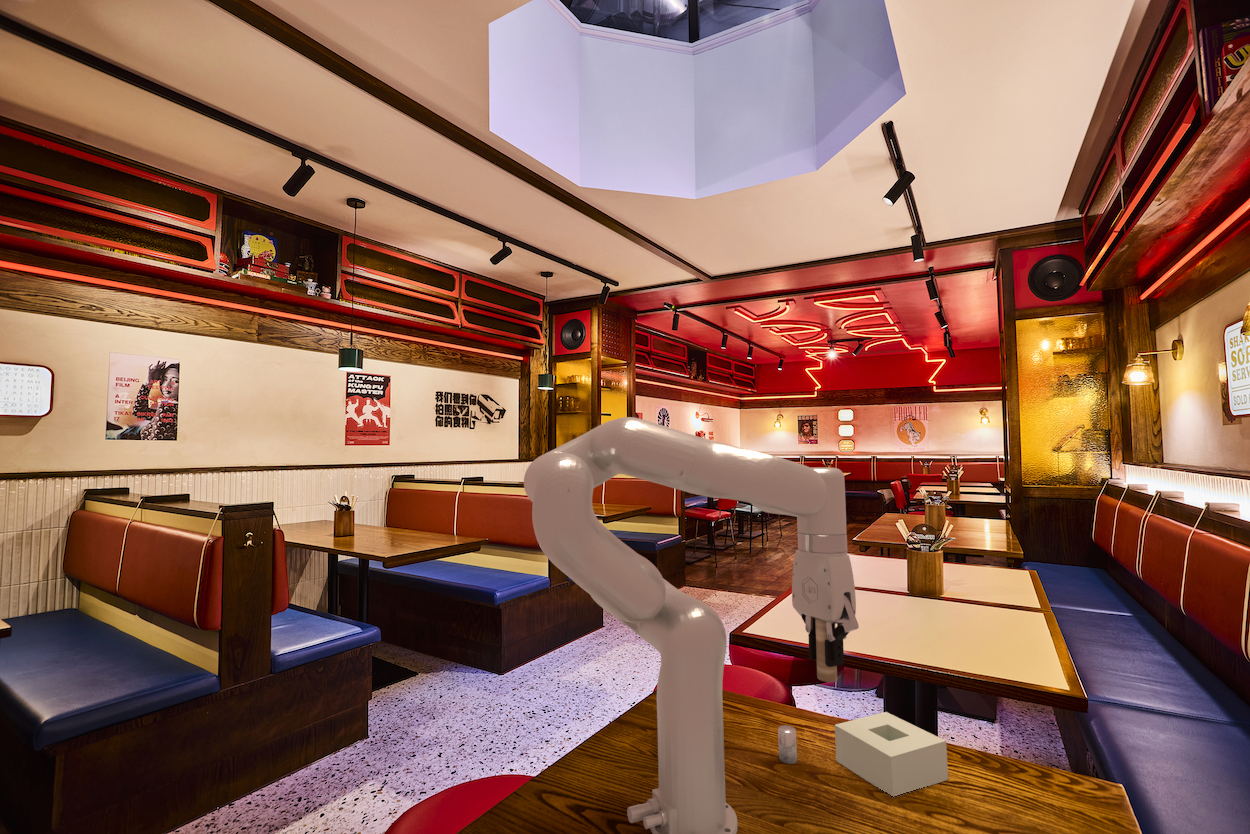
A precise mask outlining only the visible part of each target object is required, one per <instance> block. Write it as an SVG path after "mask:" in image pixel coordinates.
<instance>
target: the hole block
mask: <svg viewBox="0 0 1250 834" xmlns="http://www.w3.org/2000/svg"><path fill="white" fill-rule="evenodd" d="M834 740H835V741H834V744H835V761H836V762H837V763H838V764H839V765H840V764H841V765H842V766H843V767H845V768H846V769H848V770H849V771H851V772H853V773H854V774H856V775H858V776H859V777H860V778H862V779H863V780H864V781H866V782H868V783H869V784H871V785H873V786H874V787H875V788H877V787H878V788H877V789H878V790H880V789H881V790H880V791H882V790H883V791H884V793H885V792H887V793H888V794H890V795H891V796H893V797H894V796H897V795H900V794H903V793H906V792H909V793H911V792H910V791H913V790H916V789H919V788H920V789H919V790H922V789H924V788H923V787H925V788H927V786H928V787H930V786H933V785H936V784H939V783H943V782H945V781H949V768H948V751H947V750H948V749H947V741H946V739H943V738H941V737H939V736H937V735H935V734H933V733H931V732H929V731H926V730H925V729H922V728H920V727H919V726H916V725H914V724H912V723H910V722H908V721H906V720H904V719H902V718H899V716H896V715H894V714H891V713H889V712H888V711H885V712H884V711H883V712H881V713H876V714H873V715H868V716H865V717H860V718H856V719H853V720H848V721H844V722H841V723H835V724H834ZM921 788H922V789H921ZM883 791H882V792H883ZM916 791H917V790H916ZM913 792H914V791H913ZM888 794H887V795H888ZM906 794H907V793H906ZM890 795H889V796H890ZM903 795H904V794H903ZM891 796H890V797H891ZM900 796H901V795H900ZM893 797H892V798H893ZM897 797H898V796H897ZM894 798H895V797H894Z"/></svg>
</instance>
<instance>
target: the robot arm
mask: <svg viewBox="0 0 1250 834" xmlns="http://www.w3.org/2000/svg"><path fill="white" fill-rule="evenodd" d="M618 475H625V476H630V477H634V478H636V479H639V480H643V481H647V482H650V483H654V484H658V485H662V486H664V487H665V486H666V487H668V488H672V489H675V490H679V491H682V492H684V493H685V492H686V493H689V494H694V495H696V496H702V497H708V498H713V499H715V498H716V499H727V500H733V501H739V502H740V501H741V502H744V503H745V502H746V503H750V504H751V506H753V507H754V508H755V509H757V510H759V511H762V512H764V513H767V514H775V515H785V516H789V517H790V516H791V517H796V521H797V523H796V525H797V547H798V548H797V550H796V549H795V554H794V558H793V565H792V577H791V578H792V579H791V580H792V581H791V602H792V607H793V609H794V610H795V611H796V613H798V614H799V616H800V617H801V619H802V620H803V623H804V624H805V625H804V626H805V628H804V629H805V631H806V633H808V657H809V659H811V660H813V661H814V660H817V655H816V626H815V618H817V619H819V620H822V621H826V628H827V638H828V640H825V664H826V666H828V667H834V666H837V667H838V666H843V665H844V664H845V657H844V640H846V639H847V635H849V634H850V633H851V632H853V631H857V630H858V629H859V628H860V627H859V623H858V619H857V617H856V613H857V605H856V604H857V601H856V587H855V578H854V573H853V567H852V566H853V565H852V562H851V559H850V555H849V554H848V535H847V533H848V532H847V511H846V510H847V509H846V507H847V506H846V505H847V503H846V486H845V485H846V483H845V474H844V473H843V471H842V470H841V469H839V468H836V467H822V466H821V467H820V466H819V467H817V466H816V467H809V466H808V465H805V464H801V463H799V462H795V461H792V460H789V459H785V458H782V457H779V456H776V455H772V454H768V453H765V452H762V451H761V452H760V451H756V450H752V449H748V448H747V449H746V448H743V447H739V446H734V445H732V444H728V443H724V442H720V441H715V440H710V439H708V438H704V437H700V436H699V435H698V436H697V435H694V434H691V433H688V432H683V431H681V430H678V429H675V428H671V427H669V426H665V425H663V424H658V423H655V422H653V421H649V420H646V419H643V418H638V417H635V416H632V417H631V416H629V417H628V416H626V417H625V416H624V417H619V418H616V419H613V420H612V419H611V420H608V421H606V422H604V423H602V424H600V425H598V426H596V427H594V428H592V429H591V430H589V431H587V432H584V433H583V434H581V435H579V436H577V437H575V438H574V439H572V440H571V439H570V440H569V441H567V442H566V443H563V444H561V445H559V446H557V447H556V448H554V449H552V450H549V451H547V452H545V453H544V454H541V455H539V456H538V457H537V458H535V459H534V460H532V462H531V463H530V464H529V465H528V467H527V469H526V470H525V473H524V478H523V488H524V491H525V494H526V496H527V497H528V499H529V501H530V502H532V509H531V510H532V511H531V516H532V518H531V520H532V526H533V530H534V531H533V533H534V535H535V538H536V541H537V544H538V545H539V548H540V549H541V551H542V552H543V554H544V556H546V557H547V559H548V560H549V561H550V562H551V563H552V565H554V566H555V567H556V568H557V569H558V570H559V571H561V572H562V573H563V574H564V575H566V576H567V577H568V578H569V579H571V580H572V582H574V583H575V584H576V585H577V586H578V587H580V588H581V589H582V590H584V591H585V592H586V593H588V594H589V595H590V597H591V598H592V600H593V602H595V603H596V604H597V605H598V606H599V607H601V608H602V609H603V610H604V611H606V612H607V613H608V614H609V615H612V616H613V617H614V618H615V619H617V620H618V621H619V622H621V623H622V624H623V625H624V626H626V627H627V628H629V629H630V630H631V631H633V632H634V633H636V635H638V636H640V638H642V639H643V640H644V641H646V642H647V643H648V644H649V645H650V646H652V647H653V648H654V649H655V650H656V651H657V652H658V653H659V654H660V668H659V673H658V678H657V683H656V685H657V687H656V713H657V715H656V721H657V759H658V762H657V766H658V770H657V771H658V787H657V788H654V789H652V791H651V792H652V795H651V797H652V798H648V799H647V800H646V802H645V803H638V804H635V805H631V806H628V807H627V808H626V813H627V814H626V815H627V819H628V822H629V823H631V824H634V823H637V822H642V823H643V827H644V829H645V830H648V829H649V830H650V832H651V833H652V834H737V832H738V827H739V825H738V817H737V814H736V811H735V810H734V809H733V807H732V806H731V805H730V804H729V803H727V801H726V799H727V798H726V772H725V769H726V767H725V744H724V743H725V742H724V741H725V739H724V738H725V737H724V736H725V735H724V710H723V709H724V707H723V703H724V702H723V682H724V681H723V679H724V677H723V676H724V668H725V662H726V661H725V660H726V654H727V646H728V645H727V643H728V641H727V633H726V628H725V626H724V622H723V621H722V619H721V617H720V616H719V614H718V613H717V612H716V611H715V609H713V608H712V607H711V606H710V605H708V603H705V602H704V601H702V600H700V599H698V598H697V597H694V596H692V595H690V594H688V593H685V592H684V591H682V590H680V589H678V588H677V587H675V586H674V585H672V584H671V583H670V582H669V581H667V580H666V579H665V578H663V575H662V573H661V572H660V571H659V569H658V568H657V567H656V565H654V564H653V563H652V562H651V561H650V560H648V558H646V557H644V556H642V555H641V554H640V553H637V552H636V551H635V550H634V549H632V548H631V547H630V546H628V545H627V544H626V543H625V542H623V541H622V540H621V539H619V538H618V537H617V536H616V535H615V534H614V533H613V532H611V531H610V530H609V529H608V528H607V527H606V526H604V524H603V523H602V522H600V520H599V519H598V518H597V516H596V514H595V512H594V507H593V494H594V489H595V488H596V487H599V486H600V485H602V484H604V483H606V482H607V481H609V480H611V479H612V478H614V477H615V476H618ZM834 624H835V625H837V626H835V629H834Z"/></svg>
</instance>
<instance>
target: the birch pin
mask: <svg viewBox="0 0 1250 834" xmlns="http://www.w3.org/2000/svg"><path fill="white" fill-rule="evenodd" d="M815 626H816V655H817V659H816V678H817V679H818V680H819V681H820V682H821V681H822V682H825V683H835V682H837V681H838V666H834V667H828V666H826V664H825V640H828V638H827V628H826V621H822V620H819V619H817V618H815ZM835 628H836V624H834V629H835Z"/></svg>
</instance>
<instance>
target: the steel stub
mask: <svg viewBox="0 0 1250 834" xmlns="http://www.w3.org/2000/svg"><path fill="white" fill-rule="evenodd" d="M777 736H778V737H777V738H778V760H780V762H782V763H784V764H788V765H792V764H796V763H797V762H798V755H797V754H798V753H797V752H798V751H797V750H798V749H797V729H796V728H795V727H794V726H792V725H791V726H790V725H786V724H784V725H779V726H778V727H777Z"/></svg>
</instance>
